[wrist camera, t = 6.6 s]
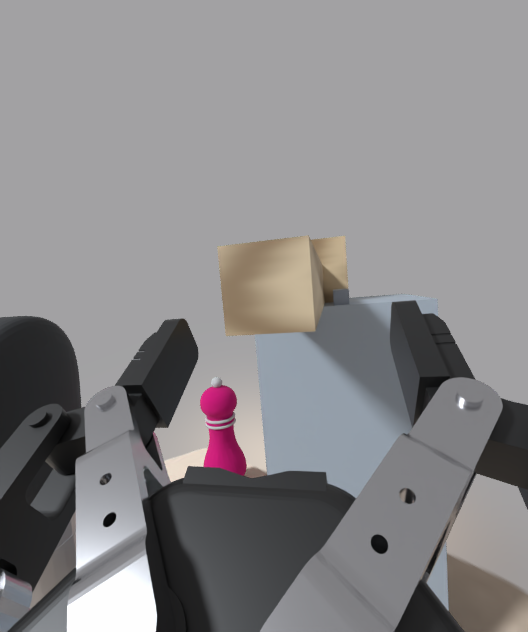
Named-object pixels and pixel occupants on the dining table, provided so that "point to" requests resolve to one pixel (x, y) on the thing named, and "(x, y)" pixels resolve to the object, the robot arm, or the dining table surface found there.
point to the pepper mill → (222, 428)
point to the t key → (280, 283)
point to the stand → (338, 397)
